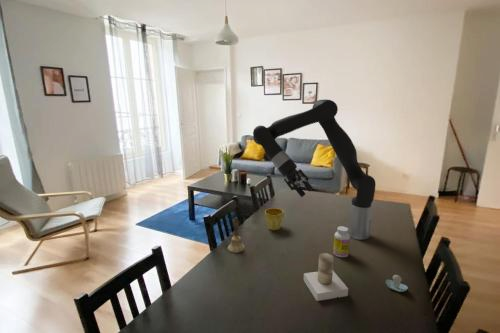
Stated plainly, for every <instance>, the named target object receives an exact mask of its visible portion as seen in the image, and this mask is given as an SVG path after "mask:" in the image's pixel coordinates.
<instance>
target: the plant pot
mask: <svg viewBox="0 0 500 333" xmlns="http://www.w3.org/2000/svg"><path fill="white" fill-rule="evenodd" d="M264 218H265V219H266V224H267V227H268V229H269V230H271V231H278V230H280V229H281V226H282V222H283V219H284V210H283V209H281V208H278V207H270V208H267V209H265V211H264Z"/></svg>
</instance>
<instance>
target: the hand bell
mask: <svg viewBox="0 0 500 333" xmlns="http://www.w3.org/2000/svg"><path fill="white" fill-rule="evenodd" d="M239 222H240V221H239V218H238V216H235V217H234V220H233V229H234V236H232V237H231V238H230V239H231V241H230V243H229V245H228V247H227V250H228V251H229V252H231V253H233V254H235V253H242V252H243V251H245V249H246V247H245V245H244V244H243V241H242V238H241V236H239V232H238V231H239V230H238V229H239V226H240V223H239Z"/></svg>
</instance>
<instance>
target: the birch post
mask: <svg viewBox="0 0 500 333" xmlns="http://www.w3.org/2000/svg"><path fill="white" fill-rule="evenodd" d="M334 257H335V256H334V255H332V254H331V253H326V252H322V253H320V254H319V255H318V269H317V270H318V271H317V272H318V282H319V283H320V284H322V285H330V284H331V283H332V275H333V271H334V259H335V258H334Z"/></svg>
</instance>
